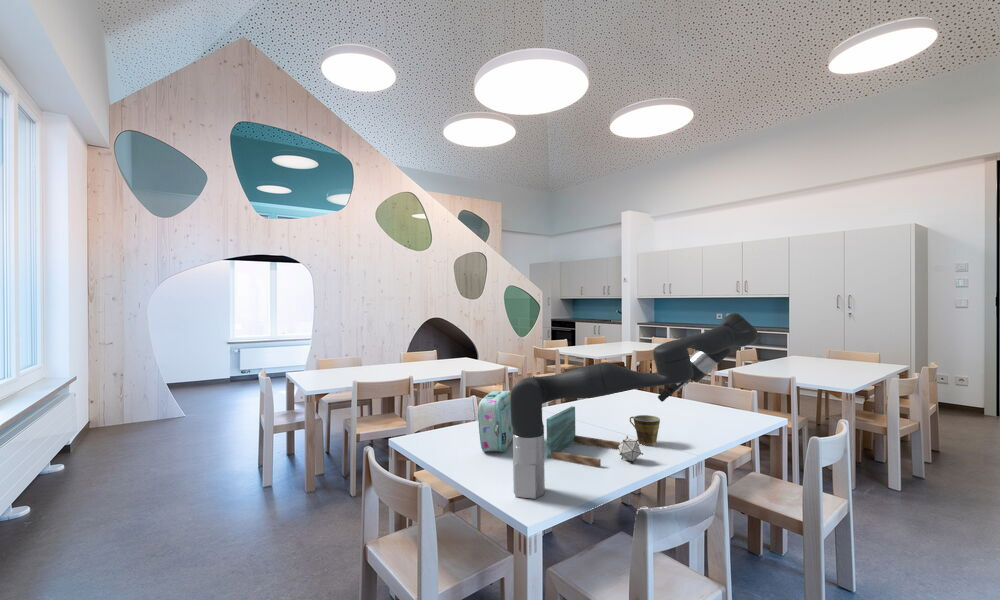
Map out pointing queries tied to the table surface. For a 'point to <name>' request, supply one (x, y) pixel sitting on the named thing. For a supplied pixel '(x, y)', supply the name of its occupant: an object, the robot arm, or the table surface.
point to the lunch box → (495, 421)
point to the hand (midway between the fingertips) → (662, 397)
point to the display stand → (570, 439)
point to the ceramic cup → (646, 429)
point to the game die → (629, 449)
